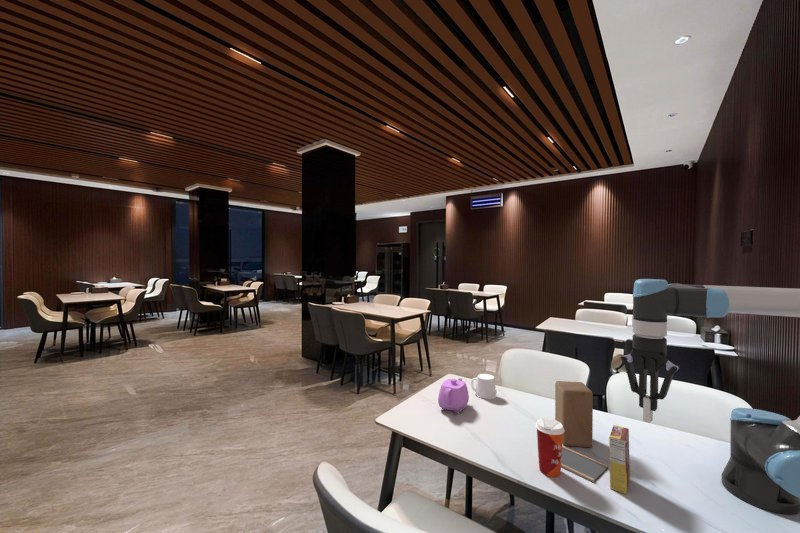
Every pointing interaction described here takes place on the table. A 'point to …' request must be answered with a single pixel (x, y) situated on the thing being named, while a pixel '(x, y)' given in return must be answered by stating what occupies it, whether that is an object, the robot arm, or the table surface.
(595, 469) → the grey flat slab
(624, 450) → the candy box
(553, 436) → the coffee cup
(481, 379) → the mug
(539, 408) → the table surface
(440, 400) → the teapot
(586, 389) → the wooden block
